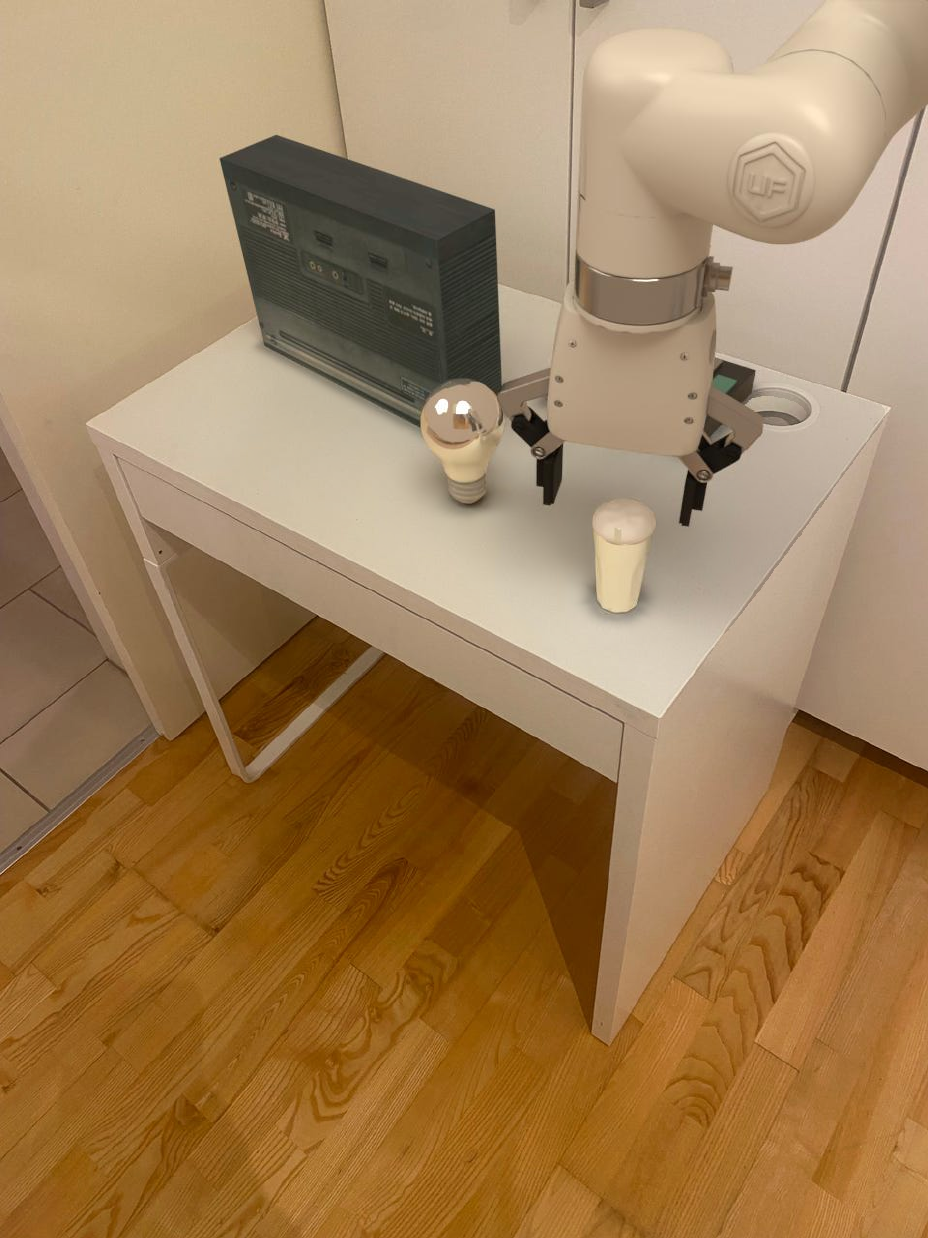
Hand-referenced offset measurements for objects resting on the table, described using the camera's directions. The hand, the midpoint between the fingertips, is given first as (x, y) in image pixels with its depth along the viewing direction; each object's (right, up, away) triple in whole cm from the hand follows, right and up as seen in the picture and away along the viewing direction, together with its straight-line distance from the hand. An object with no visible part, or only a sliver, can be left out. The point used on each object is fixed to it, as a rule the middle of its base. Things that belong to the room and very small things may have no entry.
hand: (618, 503), depth 68 cm
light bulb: (-11, +2, +17) cm, 20 cm away
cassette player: (-20, +17, +32) cm, 41 cm away
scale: (+7, +14, +26) cm, 30 cm away
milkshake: (+1, -7, +7) cm, 10 cm away
